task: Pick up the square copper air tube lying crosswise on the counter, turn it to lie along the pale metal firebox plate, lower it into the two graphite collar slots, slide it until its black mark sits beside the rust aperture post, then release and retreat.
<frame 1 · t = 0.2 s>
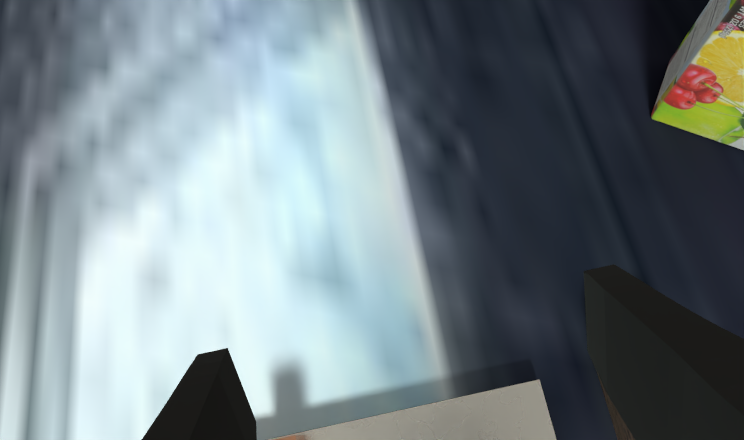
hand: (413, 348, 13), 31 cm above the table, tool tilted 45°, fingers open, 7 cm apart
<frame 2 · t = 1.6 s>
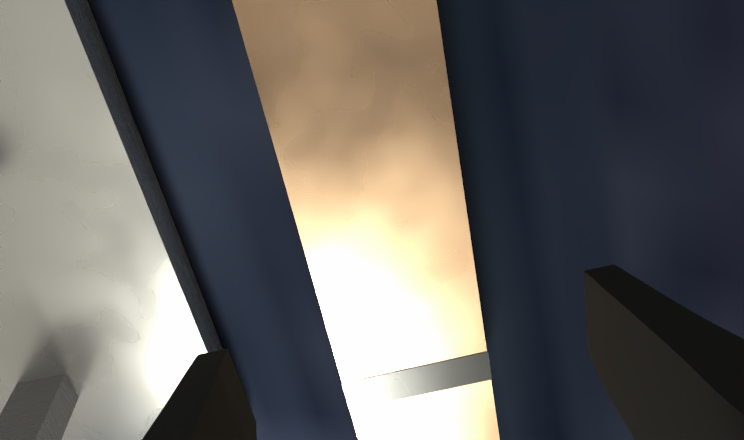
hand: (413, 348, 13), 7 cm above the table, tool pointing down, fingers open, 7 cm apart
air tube: (375, 189, 20), on the table
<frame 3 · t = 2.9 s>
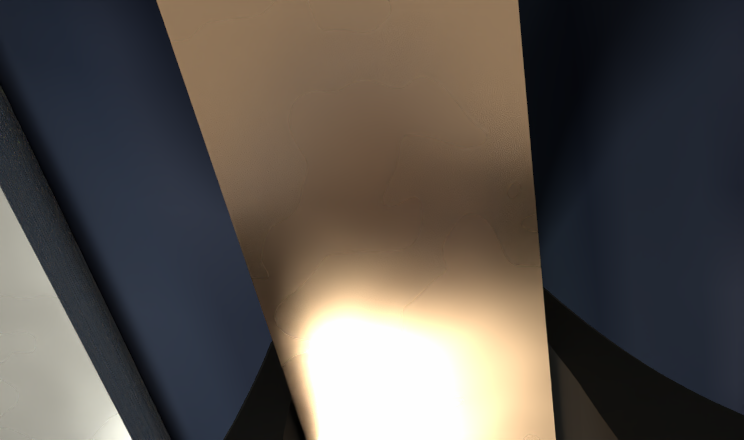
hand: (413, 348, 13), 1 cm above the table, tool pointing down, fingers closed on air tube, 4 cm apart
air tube: (403, 307, 15), on the table, touching gripper
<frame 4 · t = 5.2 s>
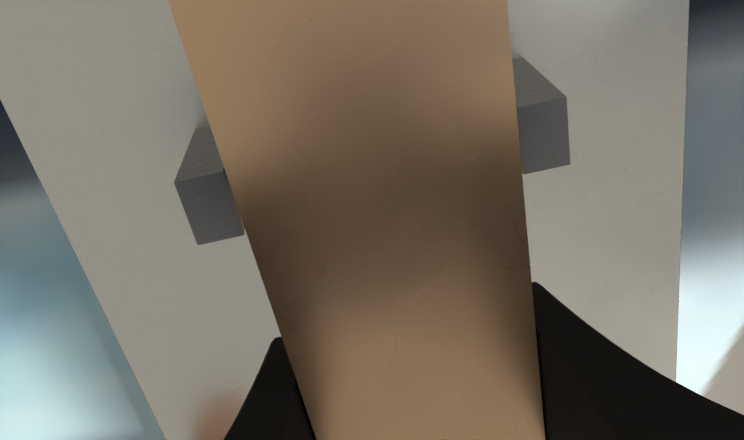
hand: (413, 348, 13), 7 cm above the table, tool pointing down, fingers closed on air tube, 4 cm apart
firebox plate: (404, 312, 21), on the table
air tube: (401, 302, 15), point 4 cm above the table, touching gripper
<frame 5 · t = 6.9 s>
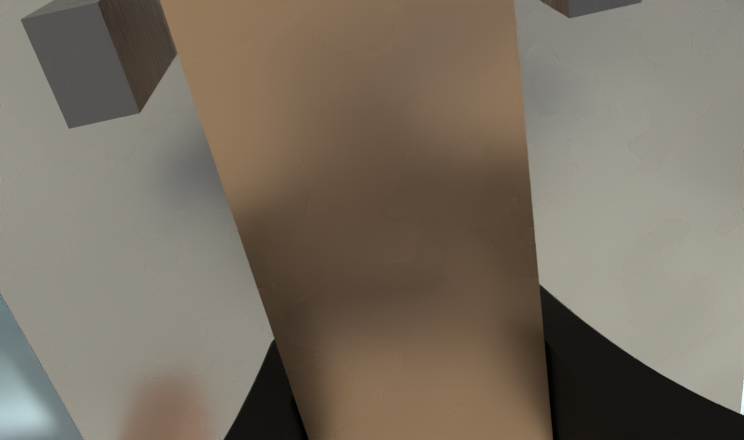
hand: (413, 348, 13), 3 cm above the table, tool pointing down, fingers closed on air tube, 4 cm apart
firebox plate: (394, 266, 16), on the table
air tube: (404, 314, 15), point 2 cm above the table, touching gripper
when the fingers open (3 cm above the table, at t = 7.9 s): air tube stays where it is, resting on firebox plate.
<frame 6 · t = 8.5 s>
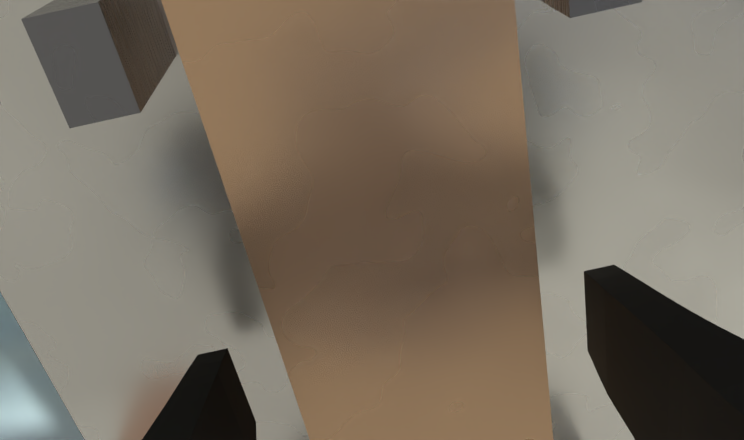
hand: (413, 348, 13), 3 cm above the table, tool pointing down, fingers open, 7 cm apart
firebox plate: (394, 266, 16), on the table
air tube: (405, 313, 15), point 2 cm above the table, touching firebox plate
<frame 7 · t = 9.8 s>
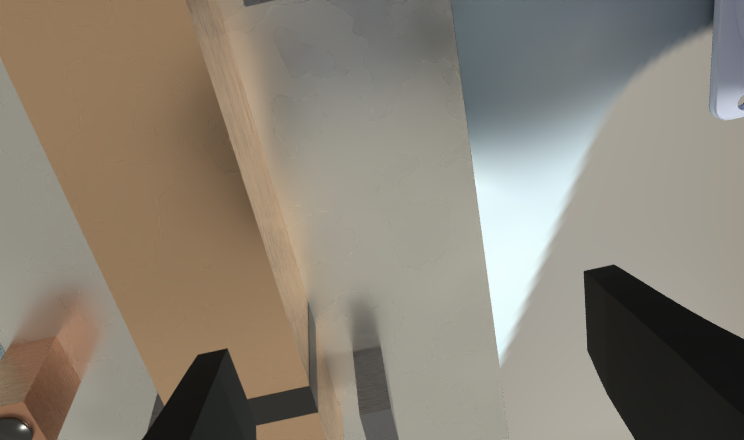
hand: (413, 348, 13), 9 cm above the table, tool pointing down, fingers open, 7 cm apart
firebox plate: (219, 195, 22), on the table
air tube: (216, 225, 21), point 2 cm above the table, touching firebox plate
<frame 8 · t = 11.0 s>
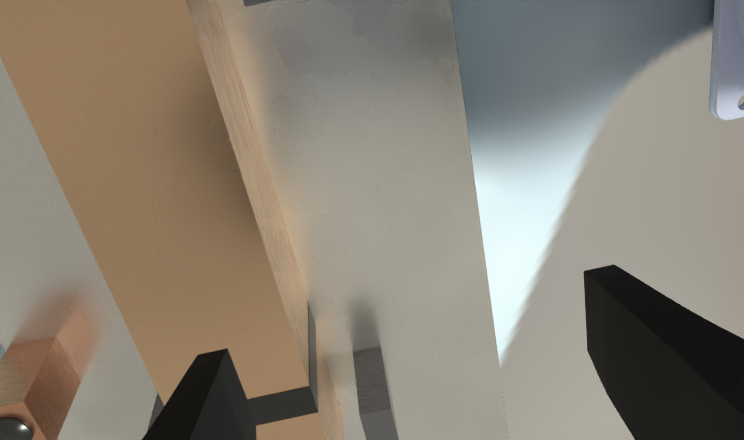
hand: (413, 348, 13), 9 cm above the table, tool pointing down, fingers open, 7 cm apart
firebox plate: (219, 195, 22), on the table
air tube: (216, 225, 21), point 2 cm above the table, touching firebox plate
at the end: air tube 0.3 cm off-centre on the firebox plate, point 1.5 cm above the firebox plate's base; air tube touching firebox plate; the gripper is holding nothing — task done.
